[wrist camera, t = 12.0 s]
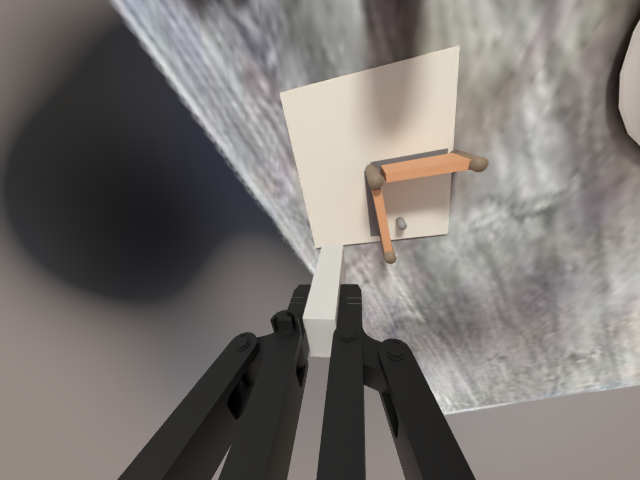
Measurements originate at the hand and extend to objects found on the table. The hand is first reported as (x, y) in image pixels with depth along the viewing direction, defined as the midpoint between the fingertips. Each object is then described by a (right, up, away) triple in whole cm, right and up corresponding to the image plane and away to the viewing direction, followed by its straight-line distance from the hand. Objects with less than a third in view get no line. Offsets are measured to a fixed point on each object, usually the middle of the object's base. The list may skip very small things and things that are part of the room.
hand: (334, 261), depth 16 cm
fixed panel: (+11, +12, +13) cm, 20 cm away
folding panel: (+8, +6, +16) cm, 19 cm away
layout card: (+6, +11, +14) cm, 19 cm away
